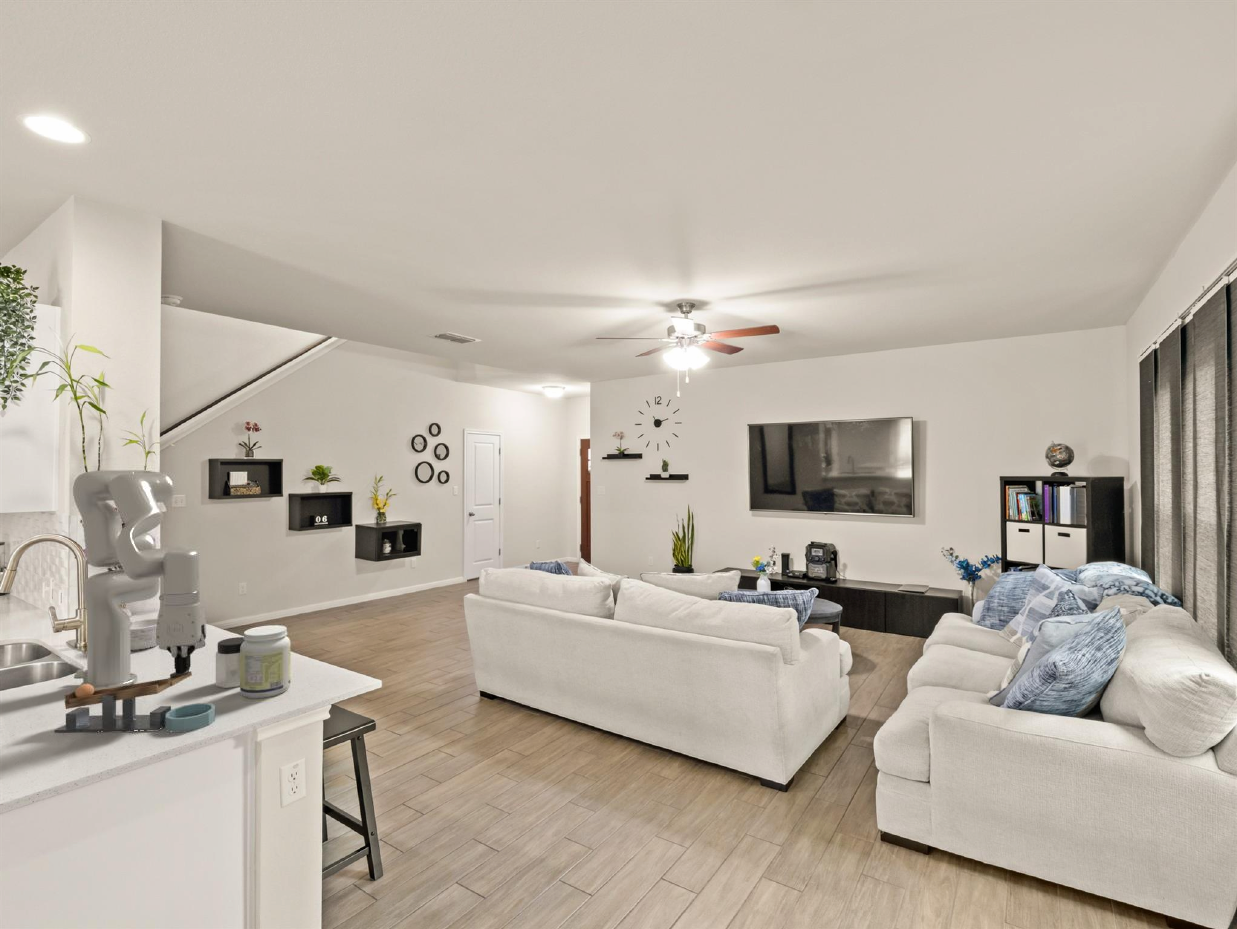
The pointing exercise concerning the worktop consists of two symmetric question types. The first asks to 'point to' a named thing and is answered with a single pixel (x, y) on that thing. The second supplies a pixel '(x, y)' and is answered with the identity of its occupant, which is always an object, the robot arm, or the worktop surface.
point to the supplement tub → (265, 662)
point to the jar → (228, 662)
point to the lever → (126, 691)
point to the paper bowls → (143, 634)
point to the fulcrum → (114, 718)
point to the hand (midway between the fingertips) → (182, 671)
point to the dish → (190, 717)
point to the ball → (84, 690)
